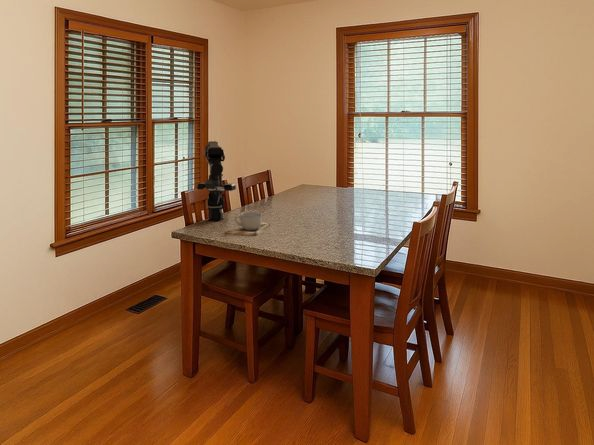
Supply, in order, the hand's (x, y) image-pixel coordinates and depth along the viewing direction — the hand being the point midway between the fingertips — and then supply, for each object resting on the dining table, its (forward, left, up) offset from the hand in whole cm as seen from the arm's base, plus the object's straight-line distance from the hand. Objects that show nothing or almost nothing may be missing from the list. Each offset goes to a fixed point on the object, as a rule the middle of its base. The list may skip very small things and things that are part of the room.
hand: (216, 203), depth 229 cm
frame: (+16, 0, -12) cm, 20 cm away
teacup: (+16, +1, -12) cm, 21 cm away
